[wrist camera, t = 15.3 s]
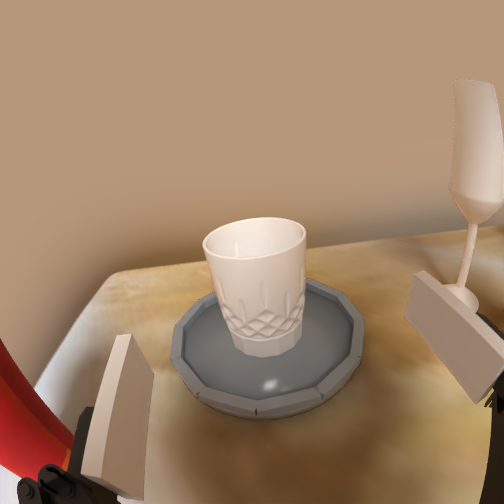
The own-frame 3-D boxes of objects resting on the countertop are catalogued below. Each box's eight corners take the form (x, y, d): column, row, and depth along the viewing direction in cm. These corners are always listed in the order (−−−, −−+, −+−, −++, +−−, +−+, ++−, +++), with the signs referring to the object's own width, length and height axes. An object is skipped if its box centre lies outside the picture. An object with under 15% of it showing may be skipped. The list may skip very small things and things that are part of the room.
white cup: (209, 336, 25) (183, 241, 21) (266, 299, 30) (255, 212, 26) (267, 378, 20) (251, 270, 16) (324, 326, 24) (326, 227, 20)
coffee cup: (41, 432, 14) (-58, 299, 8) (109, 431, 16) (2, 277, 10) (35, 505, 7) (-109, 374, 1) (114, 518, 9) (-71, 382, 2)
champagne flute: (487, 301, 23) (510, 93, 12) (462, 325, 21) (490, 77, 11) (450, 278, 28) (461, 88, 18) (422, 296, 27) (431, 77, 17)
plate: (364, 295, 29) (366, 282, 29) (346, 438, 14) (350, 427, 14) (225, 282, 36) (223, 271, 35) (143, 382, 21) (135, 370, 21)
